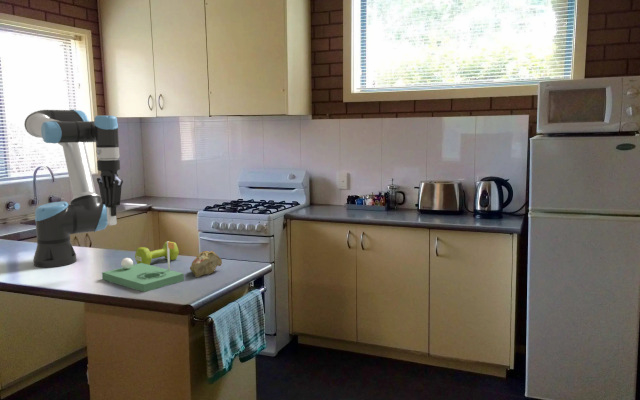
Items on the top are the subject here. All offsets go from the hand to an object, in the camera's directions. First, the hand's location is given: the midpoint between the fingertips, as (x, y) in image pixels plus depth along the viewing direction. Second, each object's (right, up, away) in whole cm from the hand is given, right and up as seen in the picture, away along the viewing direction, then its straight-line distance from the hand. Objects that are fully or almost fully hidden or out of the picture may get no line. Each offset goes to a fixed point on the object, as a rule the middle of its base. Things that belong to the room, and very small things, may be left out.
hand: (112, 224), depth 197 cm
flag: (+23, -19, -6) cm, 30 cm away
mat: (+14, -19, -7) cm, 24 cm away
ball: (+6, -14, -3) cm, 15 cm away
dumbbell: (+12, -16, +16) cm, 25 cm away
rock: (+32, -18, +2) cm, 37 cm away
